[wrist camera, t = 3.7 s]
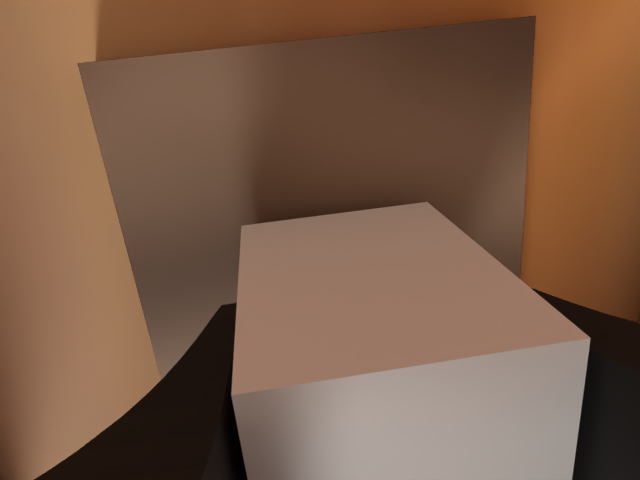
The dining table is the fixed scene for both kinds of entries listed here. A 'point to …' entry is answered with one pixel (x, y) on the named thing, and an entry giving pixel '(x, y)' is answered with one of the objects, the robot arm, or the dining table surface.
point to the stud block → (306, 149)
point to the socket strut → (398, 355)
